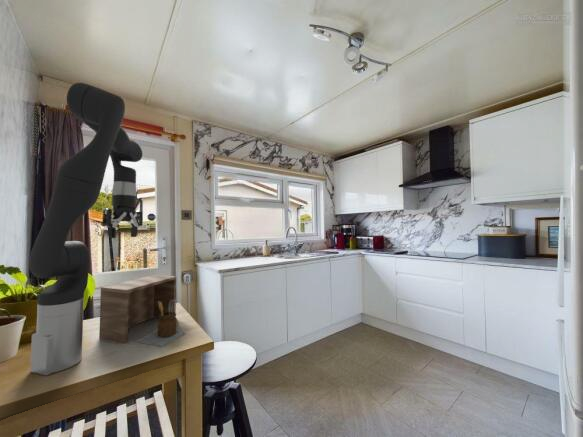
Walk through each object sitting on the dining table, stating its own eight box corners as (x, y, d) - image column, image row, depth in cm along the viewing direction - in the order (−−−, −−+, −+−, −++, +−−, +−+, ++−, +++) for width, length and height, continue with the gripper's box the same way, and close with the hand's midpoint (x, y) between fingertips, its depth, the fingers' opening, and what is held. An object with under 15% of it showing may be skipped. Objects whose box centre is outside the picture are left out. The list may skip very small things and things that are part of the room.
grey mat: (162, 346, 76) (162, 344, 76) (137, 342, 79) (137, 340, 79) (185, 333, 86) (185, 331, 86) (161, 329, 89) (162, 327, 89)
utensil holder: (180, 332, 85) (181, 297, 86) (165, 339, 80) (165, 302, 80) (168, 329, 88) (169, 295, 88) (152, 336, 82) (153, 300, 82)
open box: (124, 343, 78) (126, 290, 78) (99, 338, 81) (100, 287, 82) (175, 318, 99) (176, 276, 100) (153, 315, 102) (154, 274, 103)
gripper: (133, 197, 101) (132, 236, 100) (97, 192, 87) (96, 238, 87) (148, 196, 99) (147, 236, 98) (113, 192, 85) (112, 238, 85)
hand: (123, 237), depth 92 cm, fingers open, 8 cm apart
